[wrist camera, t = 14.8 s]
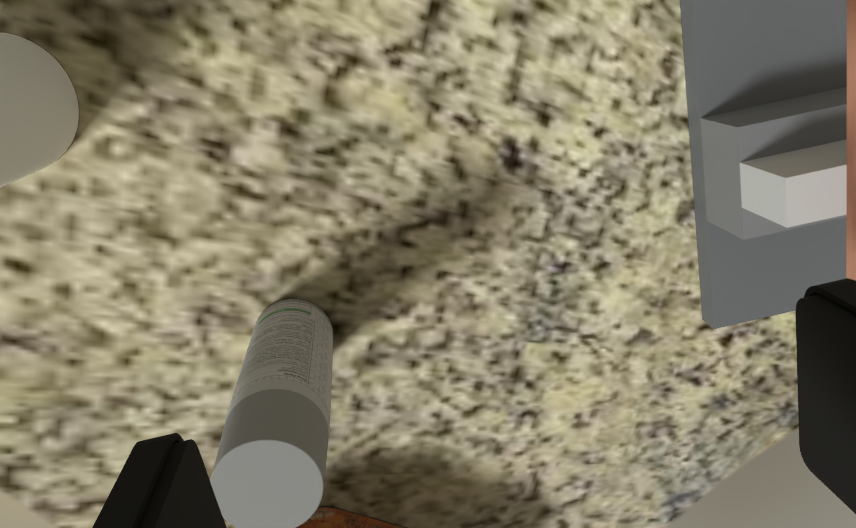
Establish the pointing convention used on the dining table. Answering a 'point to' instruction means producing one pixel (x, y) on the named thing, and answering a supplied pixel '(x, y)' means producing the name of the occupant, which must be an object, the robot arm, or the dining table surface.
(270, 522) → the container
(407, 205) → the dining table surface
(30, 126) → the cylindrical container
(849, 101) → the beam
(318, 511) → the tin
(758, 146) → the ridge stand
